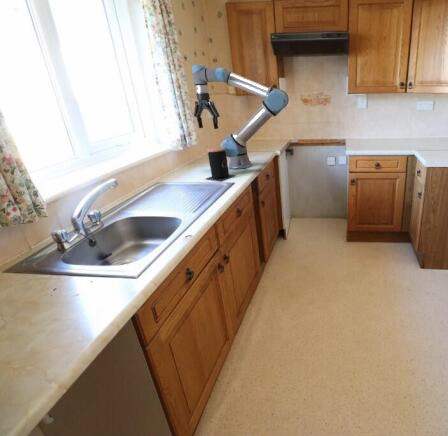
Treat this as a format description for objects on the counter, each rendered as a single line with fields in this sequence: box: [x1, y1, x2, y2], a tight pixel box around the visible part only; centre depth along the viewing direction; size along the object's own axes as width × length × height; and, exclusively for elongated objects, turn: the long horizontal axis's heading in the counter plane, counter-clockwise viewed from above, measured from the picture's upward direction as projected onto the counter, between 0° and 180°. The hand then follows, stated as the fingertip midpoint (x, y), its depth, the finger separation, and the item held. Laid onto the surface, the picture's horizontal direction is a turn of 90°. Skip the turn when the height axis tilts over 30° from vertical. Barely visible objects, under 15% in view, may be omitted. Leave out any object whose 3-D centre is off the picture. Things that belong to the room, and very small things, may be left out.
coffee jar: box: [206, 146, 230, 179], centre depth 201 cm, size 11×11×18 cm
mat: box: [206, 174, 236, 182], centre depth 205 cm, size 13×13×1 cm
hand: (208, 128), depth 206 cm, fingers open, 13 cm apart
